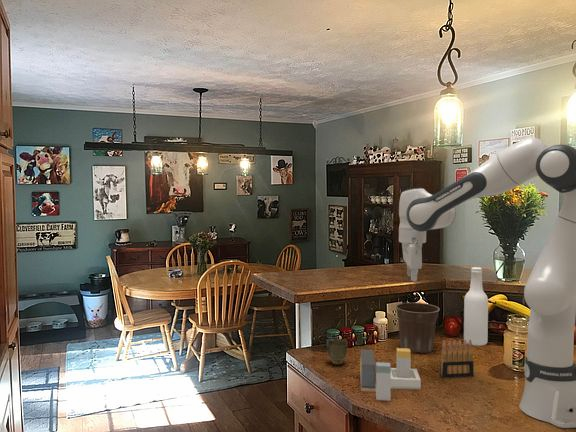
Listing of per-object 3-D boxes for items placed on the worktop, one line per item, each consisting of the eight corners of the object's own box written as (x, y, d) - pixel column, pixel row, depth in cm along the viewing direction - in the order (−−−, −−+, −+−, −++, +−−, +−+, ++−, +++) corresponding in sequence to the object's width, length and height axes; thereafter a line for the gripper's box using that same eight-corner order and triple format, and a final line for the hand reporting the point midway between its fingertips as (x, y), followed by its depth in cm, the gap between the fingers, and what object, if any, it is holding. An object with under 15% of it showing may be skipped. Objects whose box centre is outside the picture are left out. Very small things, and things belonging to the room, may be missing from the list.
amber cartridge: (409, 379, 154) (409, 348, 154) (410, 383, 151) (410, 351, 151) (396, 379, 155) (396, 348, 154) (397, 382, 152) (397, 351, 151)
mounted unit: (373, 372, 162) (373, 349, 162) (376, 391, 147) (376, 365, 146) (359, 372, 163) (359, 348, 162) (360, 391, 147) (360, 365, 147)
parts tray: (416, 378, 157) (416, 368, 157) (420, 389, 148) (420, 380, 148) (386, 376, 158) (386, 367, 158) (389, 388, 149) (389, 378, 149)
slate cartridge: (389, 396, 143) (389, 362, 143) (390, 400, 140) (390, 366, 140) (375, 395, 144) (376, 362, 143) (376, 400, 141) (376, 365, 140)
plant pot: (446, 348, 187) (446, 306, 187) (427, 358, 175) (428, 314, 175) (407, 339, 198) (408, 300, 197) (387, 349, 186) (387, 307, 185)
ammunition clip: (442, 378, 157) (442, 341, 157) (439, 375, 159) (440, 339, 159) (473, 376, 159) (474, 340, 158) (471, 374, 160) (471, 338, 160)
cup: (346, 368, 166) (346, 345, 166) (325, 366, 168) (325, 343, 167) (348, 360, 174) (348, 338, 173) (327, 359, 175) (327, 337, 175)
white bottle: (464, 345, 191) (465, 269, 189) (463, 338, 199) (463, 265, 198) (488, 347, 188) (490, 269, 187) (486, 340, 197) (487, 266, 195)
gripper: (427, 240, 152) (426, 284, 152) (417, 234, 172) (417, 273, 173) (406, 240, 152) (406, 283, 153) (399, 234, 173) (399, 273, 173)
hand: (412, 278), depth 163 cm, fingers open, 8 cm apart
